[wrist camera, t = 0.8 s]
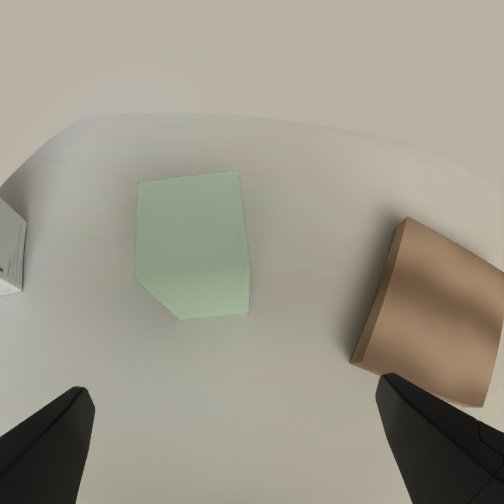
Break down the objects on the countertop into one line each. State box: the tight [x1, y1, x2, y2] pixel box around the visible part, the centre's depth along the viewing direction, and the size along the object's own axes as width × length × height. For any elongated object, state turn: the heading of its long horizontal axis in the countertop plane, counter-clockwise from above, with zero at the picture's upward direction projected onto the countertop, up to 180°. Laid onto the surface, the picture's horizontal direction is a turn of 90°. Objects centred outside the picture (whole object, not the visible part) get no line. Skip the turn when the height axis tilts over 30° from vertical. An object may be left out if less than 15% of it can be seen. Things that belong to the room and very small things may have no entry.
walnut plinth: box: [350, 216, 504, 408], centre depth 21 cm, size 12×12×2 cm
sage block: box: [134, 170, 250, 320], centre depth 19 cm, size 5×5×10 cm
